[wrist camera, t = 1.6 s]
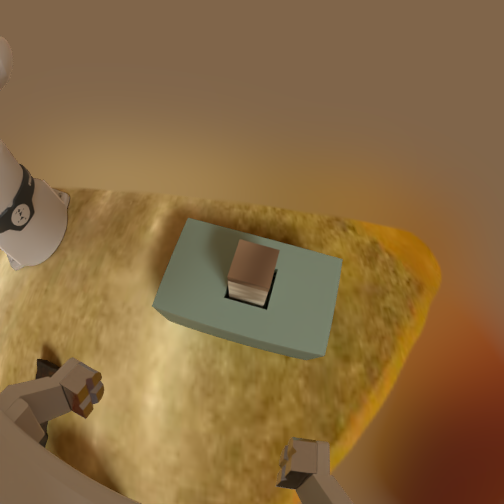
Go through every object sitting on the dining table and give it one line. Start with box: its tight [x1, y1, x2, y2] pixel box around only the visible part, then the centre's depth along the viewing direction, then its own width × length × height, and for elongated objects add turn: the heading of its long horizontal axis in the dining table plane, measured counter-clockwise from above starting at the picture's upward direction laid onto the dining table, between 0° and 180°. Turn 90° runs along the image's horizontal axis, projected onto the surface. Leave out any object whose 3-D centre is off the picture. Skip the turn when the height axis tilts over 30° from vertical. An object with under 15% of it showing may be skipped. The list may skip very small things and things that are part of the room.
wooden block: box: [227, 239, 280, 308], centre depth 31 cm, size 4×4×10 cm
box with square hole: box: [152, 218, 342, 360], centre depth 36 cm, size 20×12×9 cm, turn 74°
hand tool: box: [36, 359, 60, 448], centre depth 28 cm, size 19×4×5 cm, turn 164°
